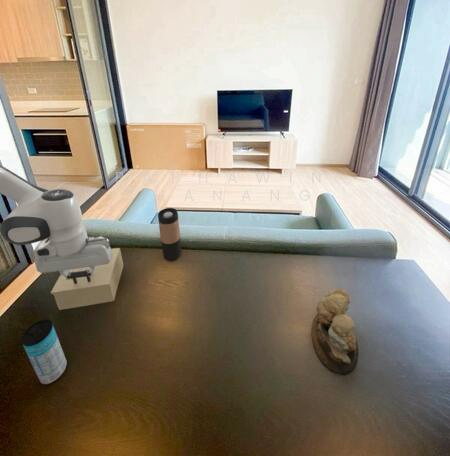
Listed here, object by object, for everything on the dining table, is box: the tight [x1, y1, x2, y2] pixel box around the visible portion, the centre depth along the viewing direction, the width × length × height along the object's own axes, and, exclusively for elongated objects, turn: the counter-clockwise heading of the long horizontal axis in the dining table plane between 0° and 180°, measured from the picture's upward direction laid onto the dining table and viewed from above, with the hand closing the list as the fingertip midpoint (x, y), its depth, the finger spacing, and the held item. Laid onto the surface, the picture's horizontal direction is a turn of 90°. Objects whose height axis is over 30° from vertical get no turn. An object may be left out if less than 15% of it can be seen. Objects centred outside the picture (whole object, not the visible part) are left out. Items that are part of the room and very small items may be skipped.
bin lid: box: [50, 247, 121, 295], centre depth 82 cm, size 16×17×5 cm
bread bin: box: [53, 250, 124, 311], centre depth 85 cm, size 16×17×8 cm
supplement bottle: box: [20, 319, 68, 385], centre depth 60 cm, size 6×6×15 cm
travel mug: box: [157, 207, 182, 262], centre depth 97 cm, size 8×8×20 cm
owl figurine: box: [311, 288, 359, 376], centre depth 65 cm, size 18×12×17 cm, turn 166°
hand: (80, 276), depth 77 cm, fingers closed on bin lid, 5 cm apart
